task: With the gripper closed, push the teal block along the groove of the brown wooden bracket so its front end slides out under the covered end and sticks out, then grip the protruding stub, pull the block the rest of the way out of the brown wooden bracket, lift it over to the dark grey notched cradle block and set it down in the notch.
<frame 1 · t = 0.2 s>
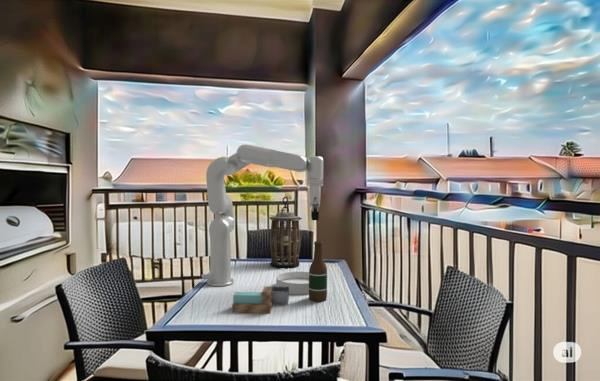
hand: (314, 219, 177), 31 cm above the table, tool pointing down, fingers open, 9 cm apart
lantern: (284, 265, 218), on the table
cradle block: (278, 301, 152), on the table
brown wooden bracket: (252, 309, 143), on the table
dish: (299, 288, 173), on the table
teal block: (250, 299, 142), point 4 cm above the table, touching brown wooden bracket
beer bottle: (317, 299, 156), on the table
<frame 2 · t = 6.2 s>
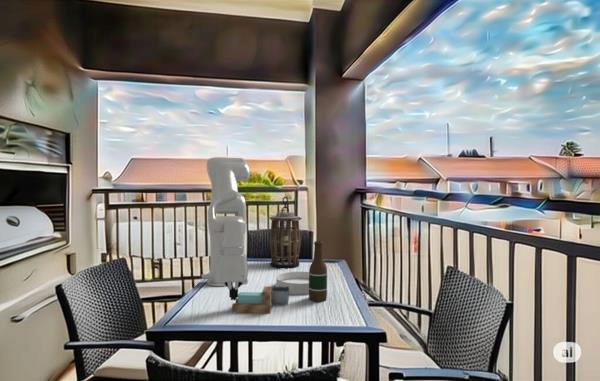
hand: (233, 299, 143), 4 cm above the table, tool pointing down, fingers closed
teal block: (254, 299, 142), point 4 cm above the table, touching brown wooden bracket, gripper
everything else where it was.
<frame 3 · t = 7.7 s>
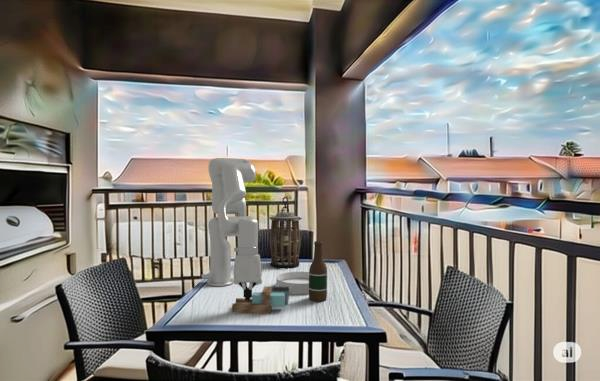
hand: (247, 299, 142), 4 cm above the table, tool pointing down, fingers closed
teal block: (268, 299, 142), point 4 cm above the table, touching brown wooden bracket, gripper
everything else where it was.
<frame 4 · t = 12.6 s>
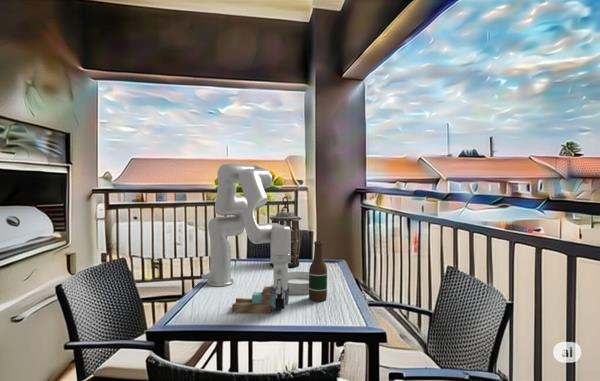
hand: (280, 306, 142), 1 cm above the table, tool pointing down, fingers closed on teal block, 4 cm apart
teal block: (268, 299, 142), point 4 cm above the table, touching brown wooden bracket, gripper
everything else where it was.
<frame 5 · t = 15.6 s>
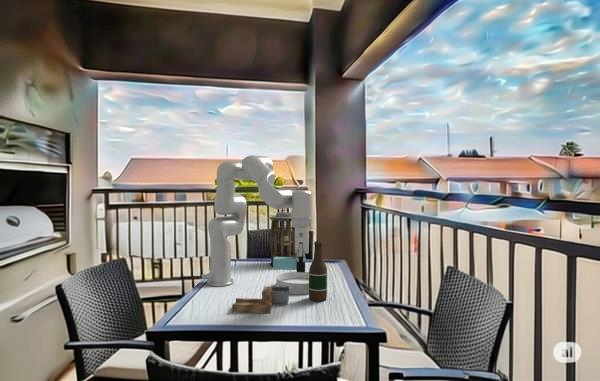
hand: (301, 270, 143), 15 cm above the table, tool pointing down, fingers closed on teal block, 4 cm apart
teal block: (289, 263, 143), point 17 cm above the table, touching gripper
everything else where it was.
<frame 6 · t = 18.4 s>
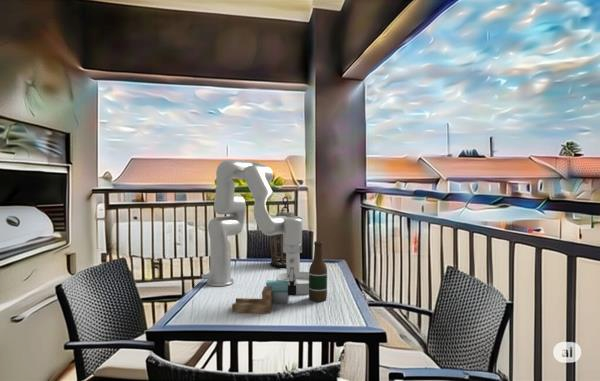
hand: (292, 293, 152), 4 cm above the table, tool pointing down, fingers closed on teal block, 3 cm apart
teal block: (281, 286, 152), point 6 cm above the table, touching gripper
everything else where it was.
when the fingers open (4 cm above the table, at t = 18.6 s): teal block drops 1 cm, resting on cradle block.
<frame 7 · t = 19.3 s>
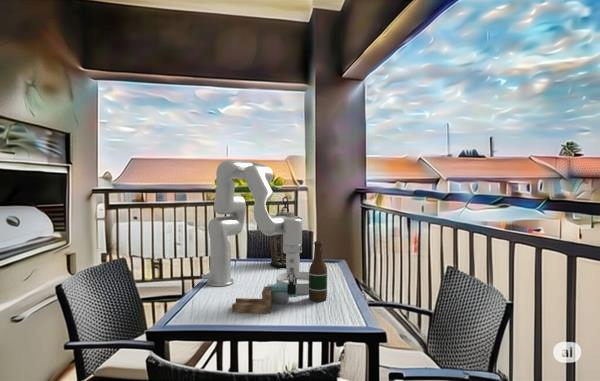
hand: (292, 290, 152), 4 cm above the table, tool pointing down, fingers open, 9 cm apart
teal block: (281, 290, 152), point 4 cm above the table, touching cradle block
everything else where it was.
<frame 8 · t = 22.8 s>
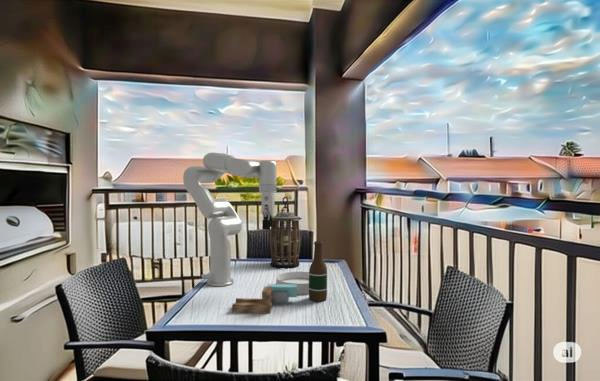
hand: (267, 228, 164), 28 cm above the table, tool pointing down, fingers open, 9 cm apart
nothing on the table moved.
at the end: teal block 0.3 cm from the target spot, point 4.5 cm above the table; teal block tilted 0°; the gripper is holding nothing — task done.
